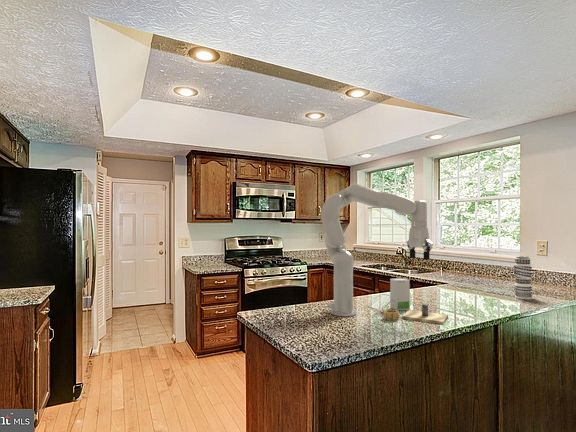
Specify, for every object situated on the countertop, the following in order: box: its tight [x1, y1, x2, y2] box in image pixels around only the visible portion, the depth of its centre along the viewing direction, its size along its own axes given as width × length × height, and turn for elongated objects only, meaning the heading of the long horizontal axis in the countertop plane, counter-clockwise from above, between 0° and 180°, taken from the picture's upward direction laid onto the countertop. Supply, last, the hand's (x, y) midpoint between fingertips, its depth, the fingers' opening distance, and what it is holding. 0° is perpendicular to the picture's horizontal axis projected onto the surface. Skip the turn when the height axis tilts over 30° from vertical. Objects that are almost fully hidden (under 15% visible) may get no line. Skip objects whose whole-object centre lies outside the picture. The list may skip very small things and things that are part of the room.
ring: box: [383, 309, 400, 322], centre depth 161 cm, size 7×7×4 cm
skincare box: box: [389, 277, 411, 311], centre depth 181 cm, size 8×7×16 cm
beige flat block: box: [401, 303, 449, 325], centre depth 163 cm, size 18×14×6 cm
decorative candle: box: [513, 255, 533, 300], centre depth 207 cm, size 9×9×25 cm
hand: (419, 258), depth 174 cm, fingers open, 9 cm apart
